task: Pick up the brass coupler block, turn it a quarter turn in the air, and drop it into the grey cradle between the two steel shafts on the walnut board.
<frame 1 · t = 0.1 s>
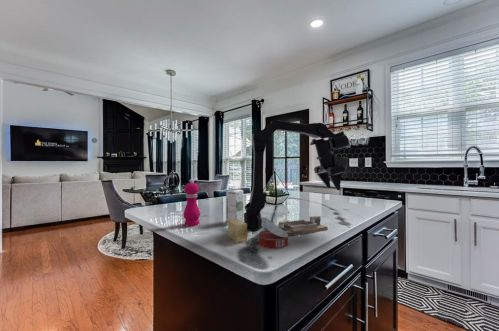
hand: (333, 188, 103), 15 cm above the table, tool pointing down, fingers open, 9 cm apart
canned food: (273, 244, 81), on the table
pepper mill: (192, 225, 107), on the table
shaft board: (299, 229, 97), on the table
syrup box: (235, 222, 111), on the table
coupler block: (237, 239, 87), on the table
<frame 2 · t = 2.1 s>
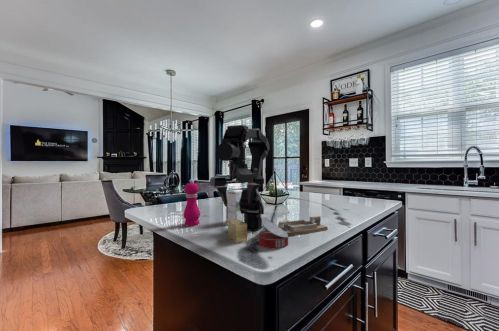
hand: (237, 205, 86), 12 cm above the table, tool pointing down, fingers open, 9 cm apart
nothing on the table moved.
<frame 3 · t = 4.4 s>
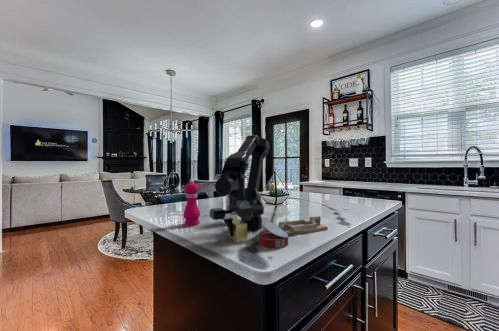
hand: (237, 235, 86), 1 cm above the table, tool pointing down, fingers closed on coupler block, 4 cm apart
coupler block: (237, 238, 87), on the table, touching gripper
everything else where it was.
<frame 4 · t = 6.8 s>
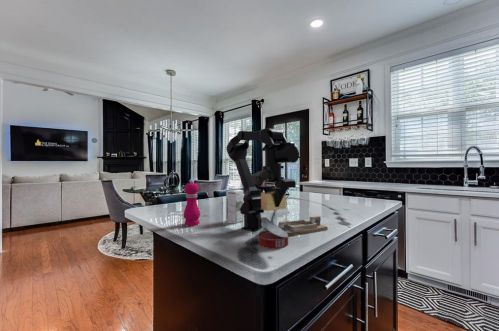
hand: (273, 206, 89), 11 cm above the table, tool pointing down, fingers closed on coupler block, 4 cm apart
coupler block: (273, 208, 88), point 10 cm above the table, touching gripper
everything else where it was.
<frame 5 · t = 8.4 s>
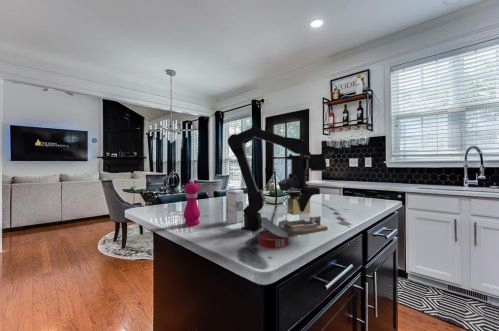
hand: (298, 210, 96), 8 cm above the table, tool pointing down, fingers closed on coupler block, 4 cm apart
coupler block: (298, 213, 96), point 7 cm above the table, touching gripper
everything else where it was.
when the fingers open (5 cm above the table, at t = 9.6 s): coupler block drops 2 cm, resting on shaft board.
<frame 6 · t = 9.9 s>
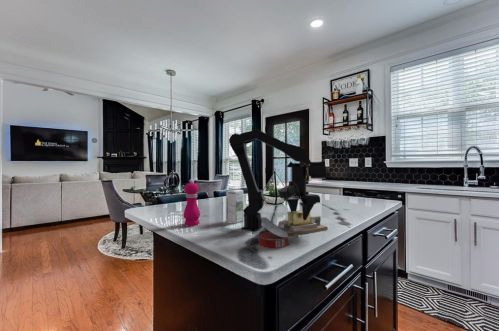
hand: (299, 218, 97), 5 cm above the table, tool pointing down, fingers open, 7 cm apart
coupler block: (298, 226, 97), point 1 cm above the table, touching shaft board
everything else where it was.
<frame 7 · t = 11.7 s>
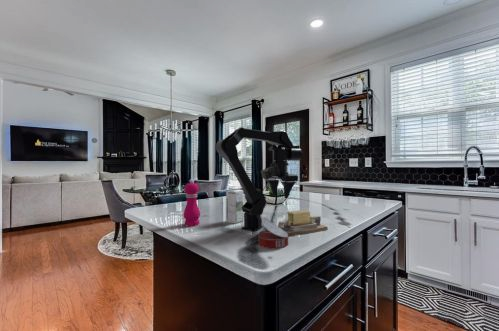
hand: (279, 196, 105), 12 cm above the table, tool pointing down, fingers open, 9 cm apart
nothing on the table moved.
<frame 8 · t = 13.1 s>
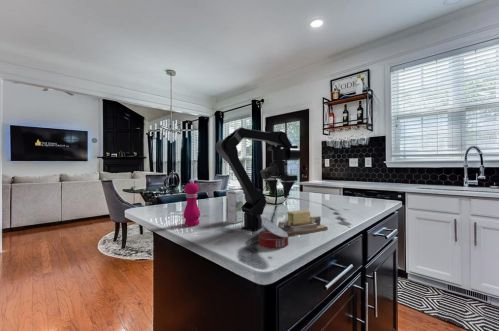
hand: (279, 196, 106), 12 cm above the table, tool pointing down, fingers open, 9 cm apart
nothing on the table moved.
at the end: coupler block 0.1 cm off-centre on the shaft board, point 1.2 cm above the shaft board's base; coupler block tilted 0°; the gripper is holding nothing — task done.
